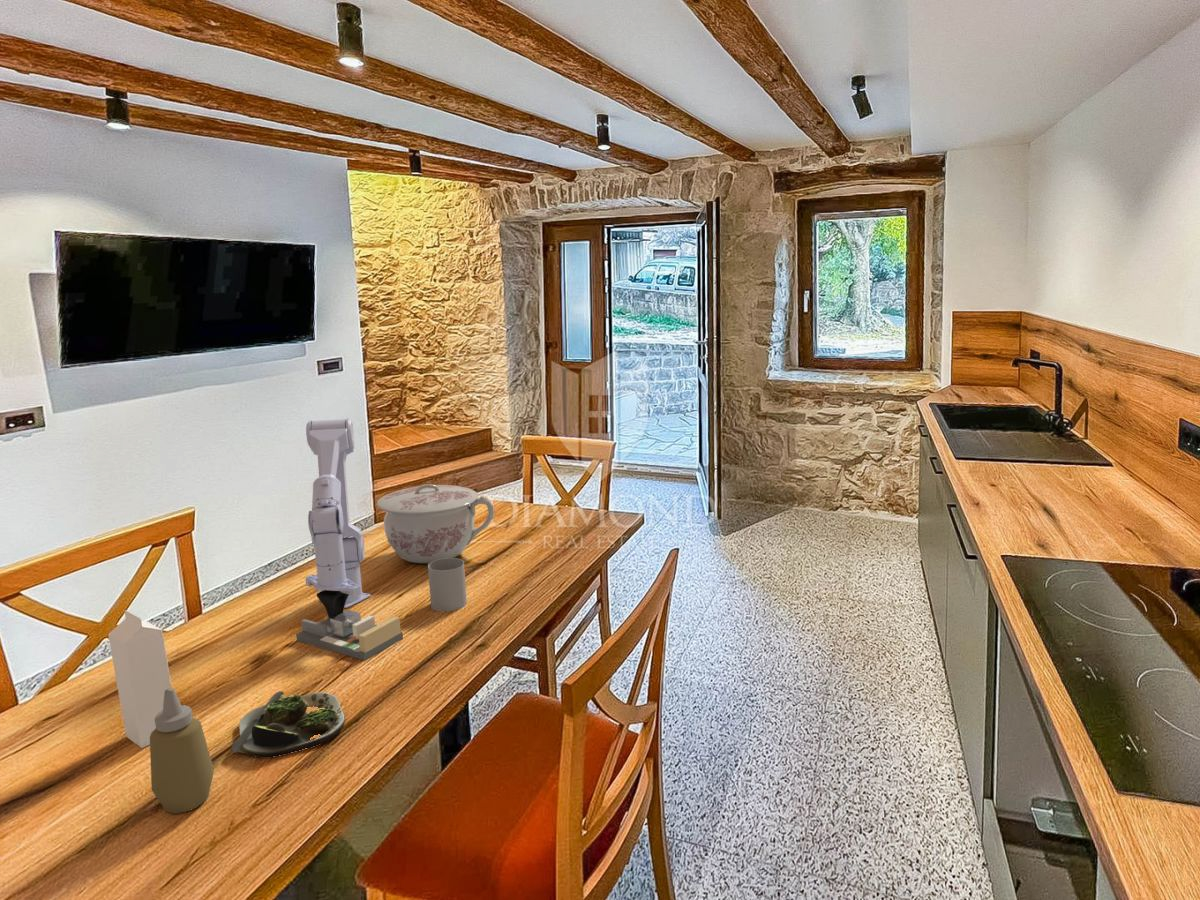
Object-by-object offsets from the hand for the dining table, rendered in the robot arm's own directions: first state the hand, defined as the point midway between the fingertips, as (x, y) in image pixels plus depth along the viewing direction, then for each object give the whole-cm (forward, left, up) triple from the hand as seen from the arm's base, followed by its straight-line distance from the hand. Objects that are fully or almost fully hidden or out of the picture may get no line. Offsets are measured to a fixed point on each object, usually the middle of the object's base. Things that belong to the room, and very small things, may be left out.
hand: (336, 621), depth 164 cm
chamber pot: (-15, +48, -4) cm, 51 cm away
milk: (+1, -41, -4) cm, 41 cm away
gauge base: (+4, 0, -3) cm, 5 cm away
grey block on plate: (+4, 0, -2) cm, 5 cm away
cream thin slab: (+8, -1, -1) cm, 8 cm away
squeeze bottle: (+23, -49, -4) cm, 54 cm away
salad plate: (+21, -29, -4) cm, 36 cm away
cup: (+11, +24, -4) cm, 26 cm away
